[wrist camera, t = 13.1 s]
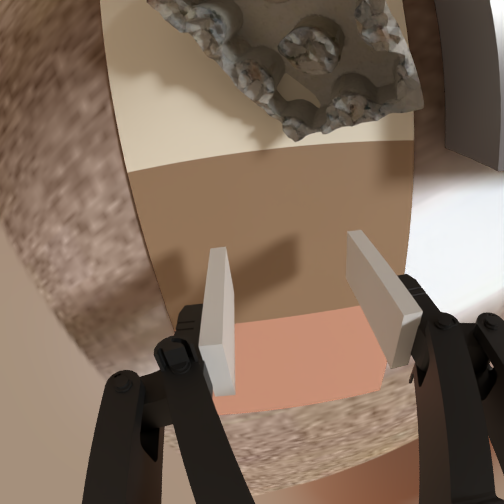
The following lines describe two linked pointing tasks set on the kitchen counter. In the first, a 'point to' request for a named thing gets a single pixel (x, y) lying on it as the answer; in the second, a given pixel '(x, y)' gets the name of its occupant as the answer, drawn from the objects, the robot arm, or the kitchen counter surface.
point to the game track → (258, 209)
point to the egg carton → (306, 56)
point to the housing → (474, 78)
